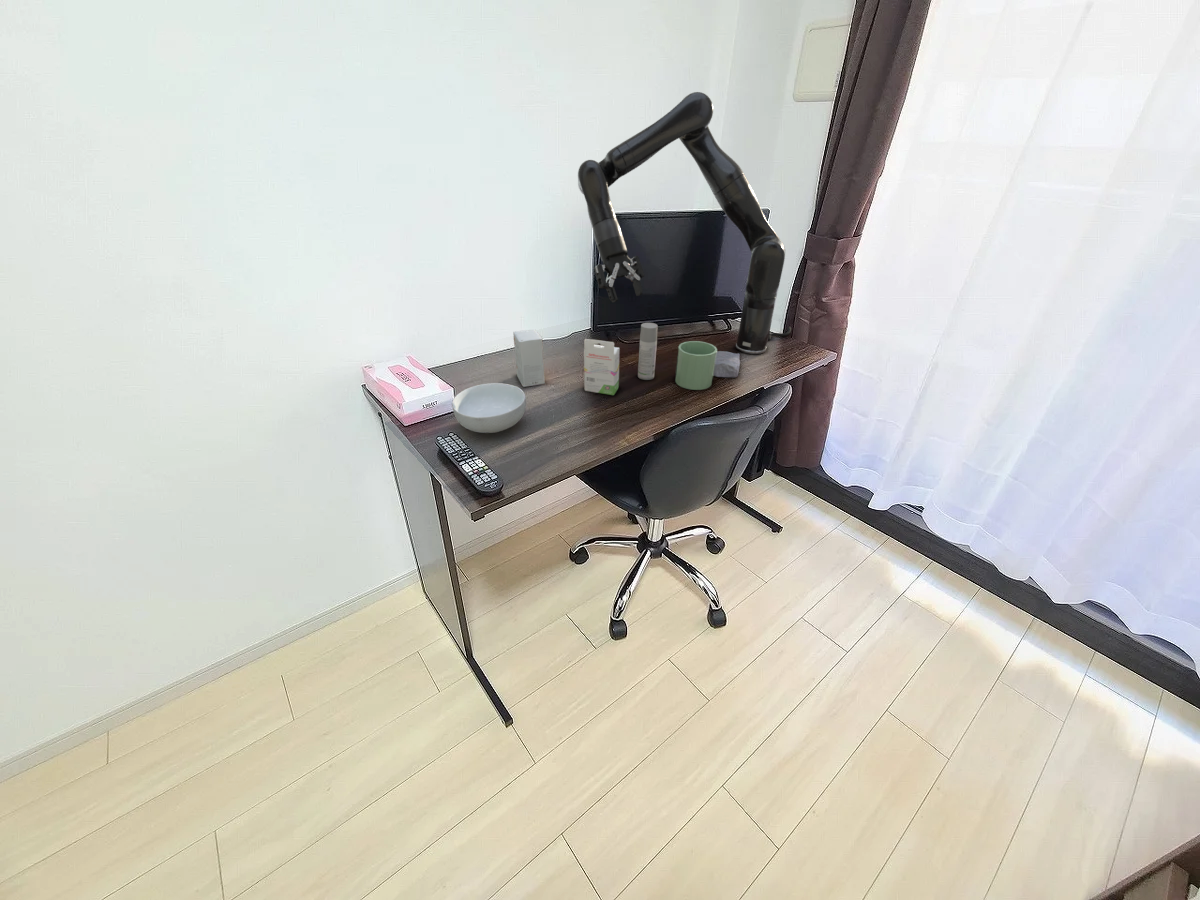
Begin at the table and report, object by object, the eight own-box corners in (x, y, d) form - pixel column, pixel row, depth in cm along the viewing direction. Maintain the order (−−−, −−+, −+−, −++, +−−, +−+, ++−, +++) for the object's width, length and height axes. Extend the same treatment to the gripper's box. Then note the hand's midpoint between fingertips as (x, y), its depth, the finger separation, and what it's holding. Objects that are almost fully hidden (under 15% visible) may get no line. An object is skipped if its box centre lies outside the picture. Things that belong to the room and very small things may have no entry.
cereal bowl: (482, 402, 128) (479, 377, 124) (540, 415, 123) (538, 389, 119) (441, 434, 115) (435, 407, 111) (503, 450, 109) (500, 422, 106)
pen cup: (689, 371, 145) (693, 338, 140) (719, 382, 139) (724, 348, 134) (667, 381, 139) (670, 347, 134) (697, 393, 133) (702, 358, 128)
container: (647, 371, 145) (650, 321, 136) (657, 377, 141) (661, 326, 133) (634, 375, 142) (637, 324, 134) (644, 381, 139) (647, 329, 131)
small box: (545, 384, 137) (542, 339, 130) (522, 387, 135) (518, 341, 128) (538, 372, 143) (535, 328, 136) (516, 375, 142) (512, 331, 134)
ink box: (619, 388, 136) (621, 336, 127) (613, 396, 132) (615, 342, 123) (589, 383, 138) (589, 331, 130) (583, 390, 134) (582, 338, 126)
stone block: (705, 381, 144) (741, 378, 141) (703, 365, 141) (740, 362, 139) (706, 366, 153) (739, 363, 151) (705, 351, 151) (739, 347, 148)
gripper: (623, 241, 143) (640, 297, 145) (581, 249, 136) (600, 307, 139) (637, 230, 136) (654, 289, 139) (594, 239, 130) (613, 300, 132)
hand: (627, 298), depth 139 cm, fingers open, 8 cm apart
